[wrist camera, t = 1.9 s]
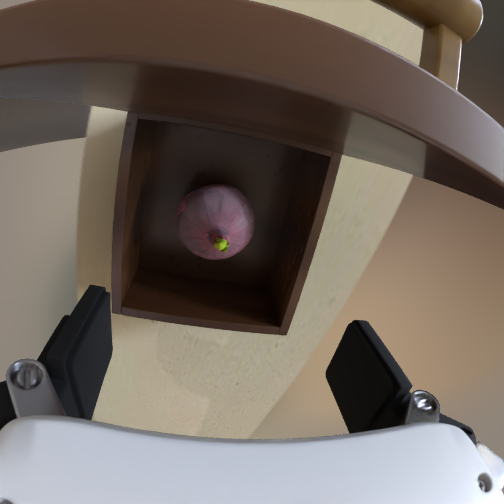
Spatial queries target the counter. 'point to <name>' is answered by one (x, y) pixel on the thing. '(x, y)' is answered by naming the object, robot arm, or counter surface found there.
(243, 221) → the vegetable
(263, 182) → the chest
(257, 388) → the counter surface
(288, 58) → the lid
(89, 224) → the counter surface
